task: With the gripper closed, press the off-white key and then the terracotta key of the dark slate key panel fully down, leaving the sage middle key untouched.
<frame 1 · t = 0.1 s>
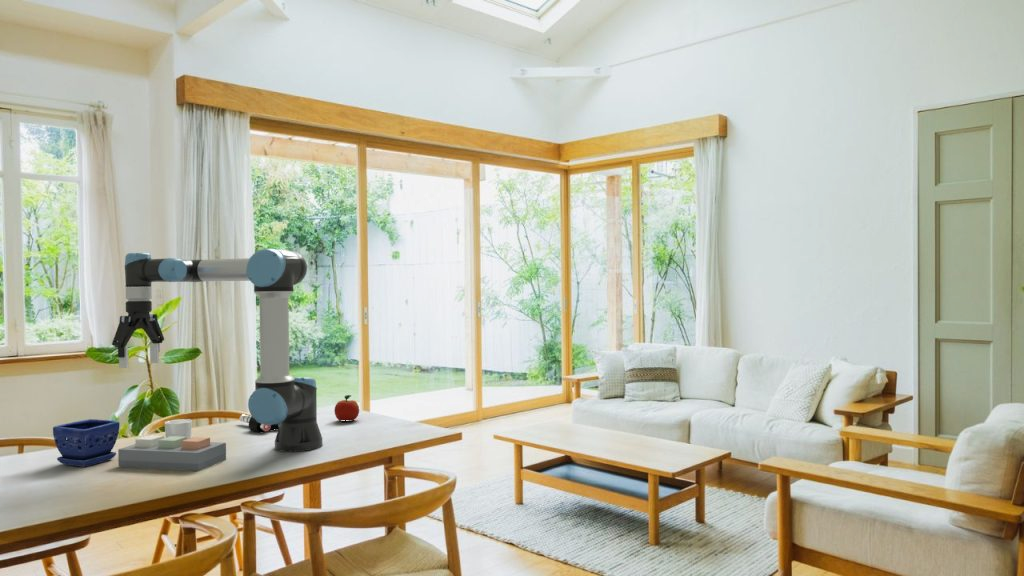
hand: (139, 365, 225), 28 cm above the table, fingers open, 13 cm apart
key offwhite: (150, 443, 210), point 6 cm above the table, slide at 0.0 cm
key sage: (172, 444, 208), point 6 cm above the table, slide at 0.0 cm
flower pot: (87, 463, 211), on the table
key panel: (173, 463, 208), on the table
white cup: (178, 452, 222), on the table
fruit: (346, 421, 271), on the table
key terracotta: (196, 445, 207), point 6 cm above the table, slide at 0.0 cm
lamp: (257, 428, 260), on the table
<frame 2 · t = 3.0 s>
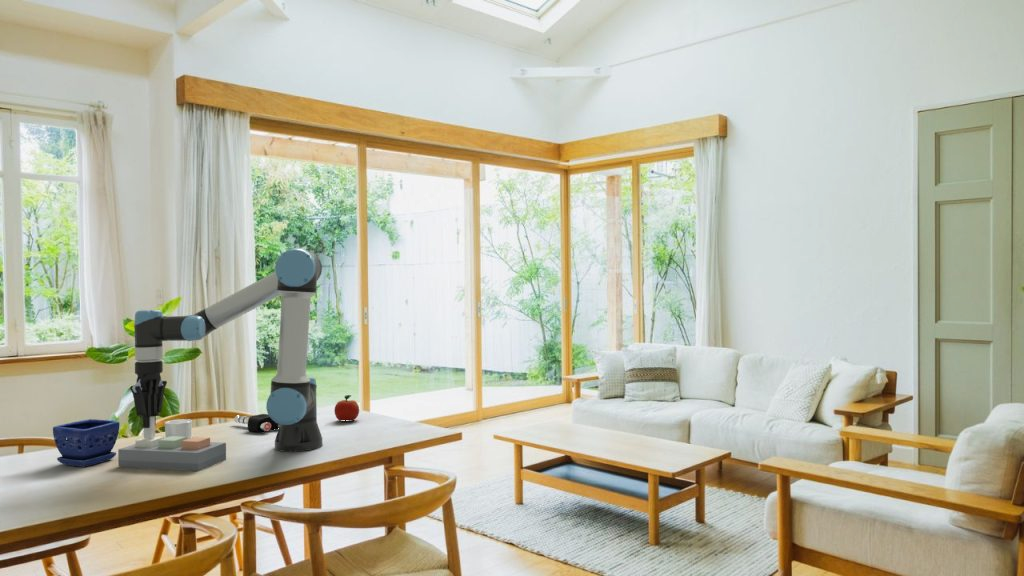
hand: (149, 437, 210), 7 cm above the table, fingers closed
key offwhite: (150, 444, 210), point 5 cm above the table, slide at 0.4 cm, touching gripper
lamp: (254, 429, 259), on the table
everything else where it was.
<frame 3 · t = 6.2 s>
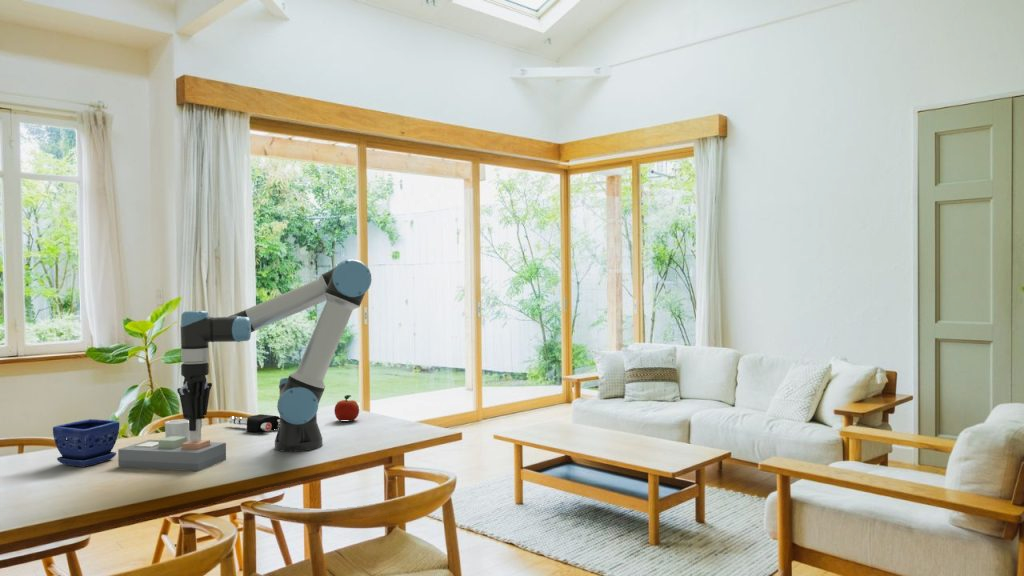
hand: (195, 441, 206), 7 cm above the table, fingers closed
key offwhite: (150, 449, 210), point 4 cm above the table, slide at 2.0 cm
key terracotta: (196, 447, 207), point 5 cm above the table, slide at 0.8 cm, touching gripper
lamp: (251, 429, 258), on the table
everything else where it was.
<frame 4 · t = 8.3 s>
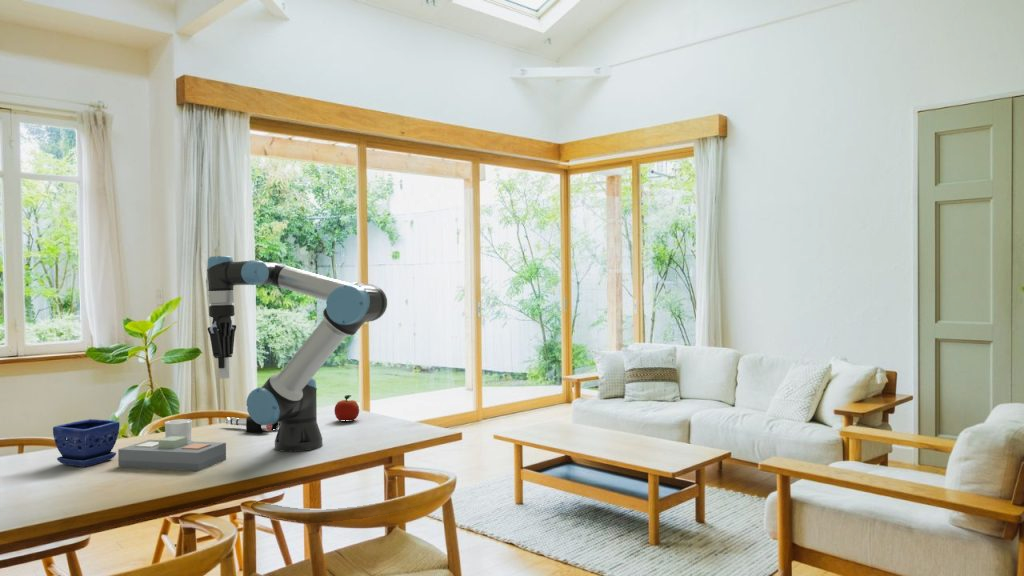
hand: (224, 378, 220), 24 cm above the table, fingers closed
key terracotta: (196, 451, 207), point 4 cm above the table, slide at 2.0 cm
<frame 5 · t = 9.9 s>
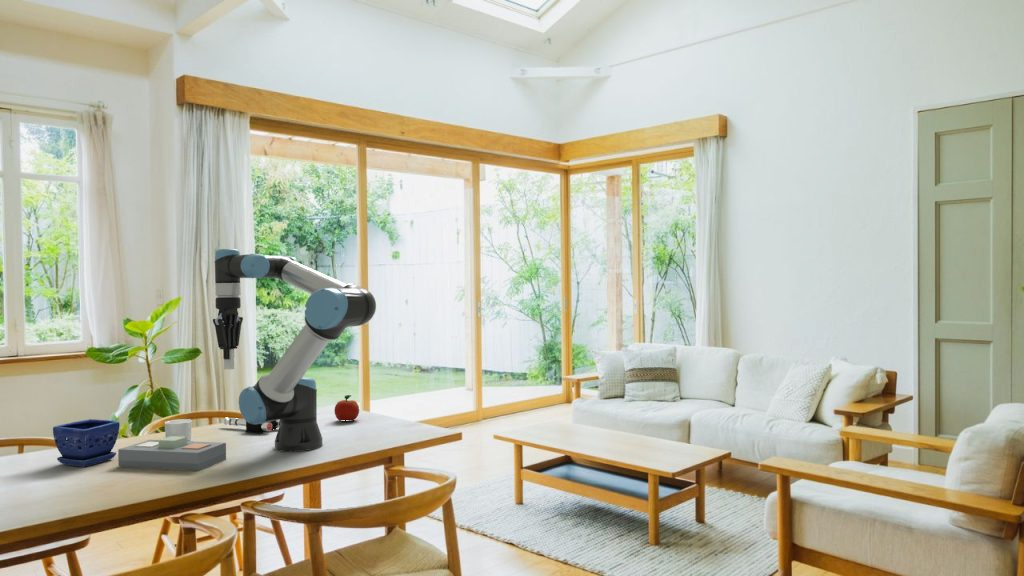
hand: (229, 369, 224), 26 cm above the table, fingers closed
at the end: key offwhite slide at 2.0 cm; key terracotta slide at 2.0 cm; key sage slide at 0.0 cm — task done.
